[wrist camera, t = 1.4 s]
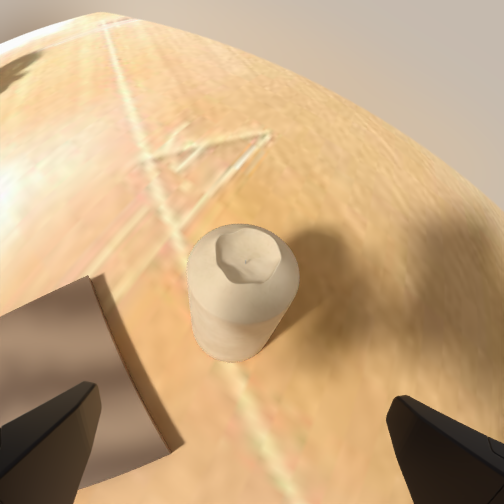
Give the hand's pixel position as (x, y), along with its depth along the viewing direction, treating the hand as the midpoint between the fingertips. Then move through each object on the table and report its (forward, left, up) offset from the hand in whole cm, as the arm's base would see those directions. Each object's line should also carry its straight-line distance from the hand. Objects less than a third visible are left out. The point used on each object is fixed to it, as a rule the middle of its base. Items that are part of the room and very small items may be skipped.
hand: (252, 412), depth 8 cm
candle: (+6, -4, -13) cm, 15 cm away
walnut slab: (+7, +11, -13) cm, 18 cm away
